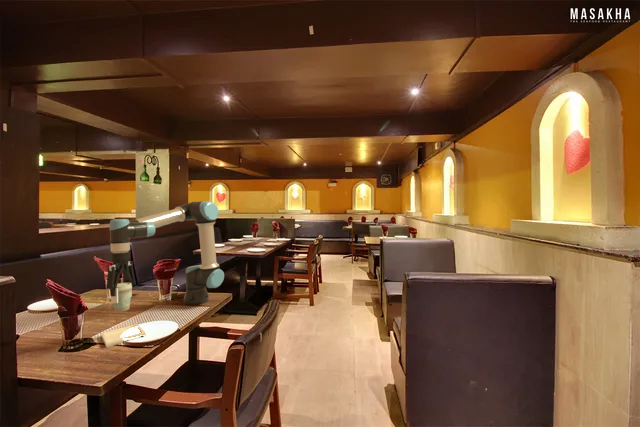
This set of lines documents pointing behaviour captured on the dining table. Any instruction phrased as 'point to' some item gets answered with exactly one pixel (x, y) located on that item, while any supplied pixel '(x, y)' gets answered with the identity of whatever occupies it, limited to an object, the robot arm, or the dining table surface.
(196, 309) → the dining table surface
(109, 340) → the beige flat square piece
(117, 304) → the coffee cup
